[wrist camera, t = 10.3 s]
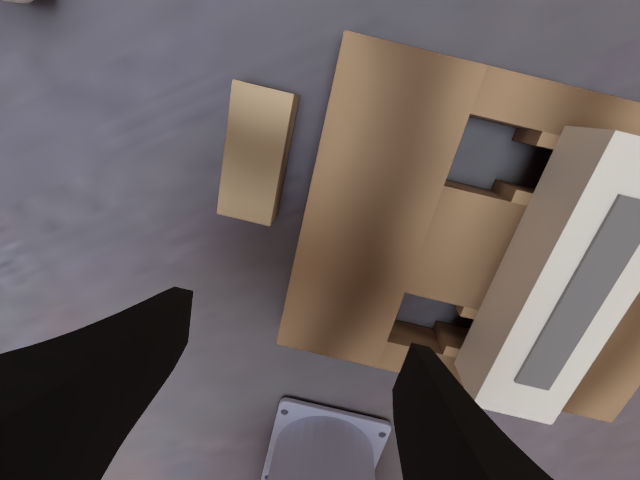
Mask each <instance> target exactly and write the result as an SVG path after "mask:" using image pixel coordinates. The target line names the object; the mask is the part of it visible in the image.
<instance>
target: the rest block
mask: <svg viewBox="0 0 640 480" xmlns="http://www.w3.org/2000/svg"><path fill="white" fill-rule="evenodd" d="M299 97H300V95H296V94H292V93H288V92H284V91H280V90H276V89H271V88H267V87H263V86H259V85H255V84H251V83H247V82H242V81H238V80H234V79H232V88H231V96H230V105H229V113H228V121H227V130H226V138H225V147H224V155H223V164H222V172H221V181H220V189H219V197H218V206H217V214H220V215H224V216H228V217H233V218H237V219H241V220H245V221H249V222H254V223H258V224H262V225H266V226H271V224H272V222H273V221H274V219H275V218H276V216H277V214H278V209H279V204H280V198H281V193H282V188H283V182H284V177H285V172H286V166H287V161H288V156H289V150H290V145H291V140H292V134H293V129H294V124H295V118H296V113H297V108H298V102H299Z"/></svg>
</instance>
